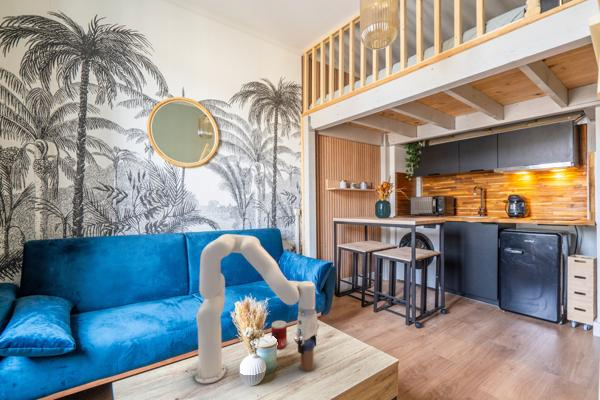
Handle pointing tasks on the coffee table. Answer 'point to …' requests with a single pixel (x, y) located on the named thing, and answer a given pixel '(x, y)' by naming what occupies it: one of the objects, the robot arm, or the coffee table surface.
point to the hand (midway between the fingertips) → (307, 348)
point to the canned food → (280, 333)
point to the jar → (307, 360)
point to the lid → (308, 344)
